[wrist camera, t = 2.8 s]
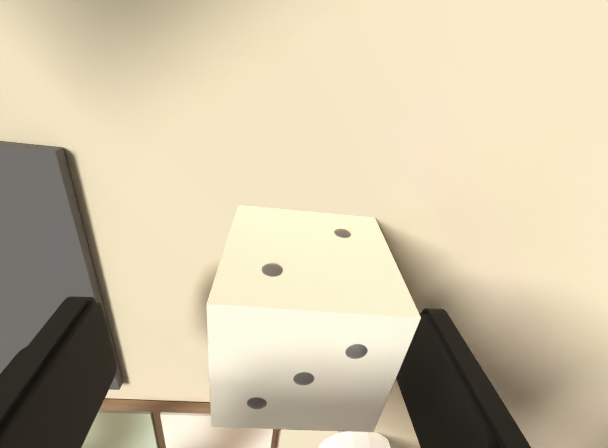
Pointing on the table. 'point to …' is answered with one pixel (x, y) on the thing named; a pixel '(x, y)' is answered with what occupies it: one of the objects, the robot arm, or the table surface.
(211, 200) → the table surface
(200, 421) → the track
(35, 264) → the mat
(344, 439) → the beverage cup
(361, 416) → the die
